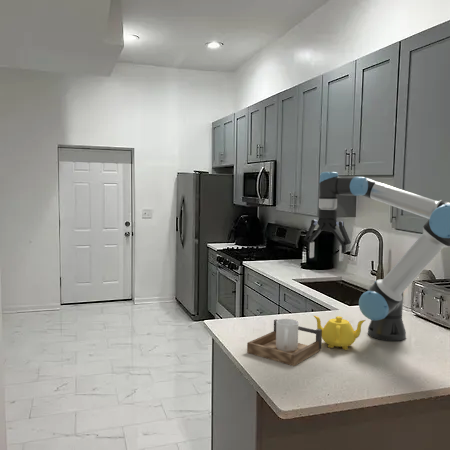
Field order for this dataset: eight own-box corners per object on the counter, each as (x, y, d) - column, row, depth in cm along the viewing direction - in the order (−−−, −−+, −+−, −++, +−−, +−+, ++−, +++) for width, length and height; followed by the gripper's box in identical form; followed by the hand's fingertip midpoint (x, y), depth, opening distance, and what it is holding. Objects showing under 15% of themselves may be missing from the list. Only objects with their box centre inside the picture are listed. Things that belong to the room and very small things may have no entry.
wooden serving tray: (321, 350, 175) (321, 329, 174) (294, 366, 159) (295, 343, 158) (275, 339, 188) (276, 319, 187) (246, 352, 172) (247, 331, 171)
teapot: (310, 349, 176) (311, 320, 175) (313, 337, 190) (314, 310, 189) (364, 355, 170) (366, 325, 169) (364, 342, 184) (365, 314, 183)
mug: (296, 356, 166) (297, 328, 165) (273, 354, 168) (274, 327, 167) (298, 345, 178) (298, 319, 177) (276, 343, 179) (277, 317, 179)
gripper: (360, 210, 188) (358, 261, 189) (305, 207, 203) (304, 255, 205) (352, 210, 182) (350, 263, 184) (297, 208, 197) (295, 257, 199)
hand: (326, 259), depth 194 cm, fingers open, 13 cm apart
